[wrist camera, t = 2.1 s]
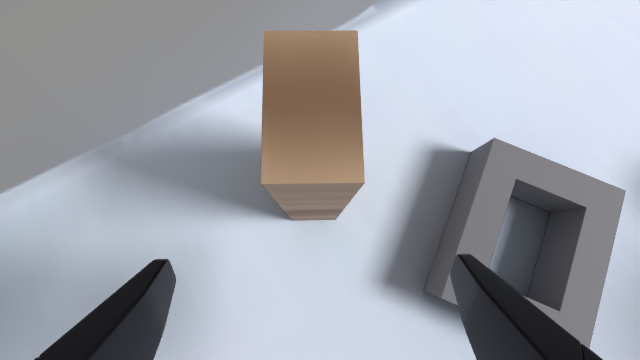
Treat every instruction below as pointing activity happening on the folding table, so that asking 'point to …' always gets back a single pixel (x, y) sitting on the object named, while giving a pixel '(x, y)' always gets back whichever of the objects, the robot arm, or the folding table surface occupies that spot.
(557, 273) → the gray block with hole
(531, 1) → the folding table surface
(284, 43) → the slat
